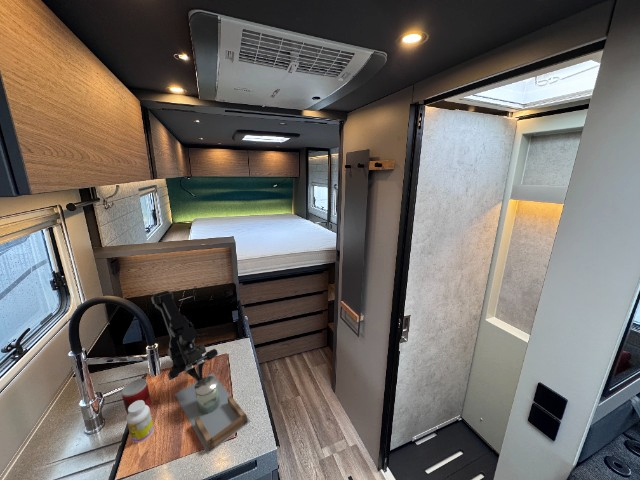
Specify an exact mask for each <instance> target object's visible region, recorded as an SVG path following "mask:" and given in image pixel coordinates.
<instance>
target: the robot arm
mask: <svg viewBox="0 0 640 480" xmlns="http://www.w3.org/2000/svg"><path fill="white" fill-rule="evenodd" d="M174 298H175V297H174V295H173V291H170V290H164V291H163V290H162V291H160V292H157V293H153V296H151V298H150V299H151V303H152V305H154V307H155V308H156V309H158V310H159V311H160V312H161V315H162V318H163V321H164V324H165V326H166V329H167V332H168V335H169V337H170V340H169V344H168V347H169V348H168V350H167V355H168V357H169V358H170V360H171V361H172V366H171V369H170V370H169V372H168V373H167V376H168V377H167V378H168V380H169V381H172V380H174V379H176V378H177V377H179V375H180V374H181V373H182V372H185V373H184V374H185V375H189V376H191V377H192V378H193V379H194V380H195V382H198V381H199V380H201V379H202V378H203V368H204V365H205V364H206V361H210V360H213V359H215V358H216V357H217V356H218V355H219V353H218V350H217V349H216V348H213V349H211V350H209V351H207V349H206V347H205V345H204V344H201V345H200V346H198V347H197V346H196V344H195V339H196V338H197V335H198V332H197V330H196V328H195V325H194V324H193V323H192V322H191V321H190V320H189V319H187V317H186V316H185V315H183V314H181V313H180V311H179V309H178V306H177V305H176V303H175V301H174ZM195 366H196V367H195Z"/></svg>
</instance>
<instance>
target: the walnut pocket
mask: <svg viewBox="0 0 640 480" xmlns="http://www.w3.org/2000/svg"><path fill="white" fill-rule="evenodd" d="M227 399H228V404H229V406H230V407H231V408H232V410H233V411H234V412H235V414H236V415H237V416H238V419H237V420H235V421H234V422H232V423H231V424H230V425H228V426H227V427H226V428H224V429H223V430H222V431H220V432H219V433H217V434H216V435H215V436H213V437H212V438H211V436H210V434H209V433H208V431H207V429H206V428H205V426H204V424H203V423H202V421H201V419H200V418H199V417H197V418H196V419H195V425H196V427H197V429H198V431H199V433H200V434H201V436H202V438H203V440H204V441H205V443H206V445H207V447H208V449H209V450H210V451H211V450H212V449H213V448H215V447H216V446H217V445H219V444H220V443H221V442H223V441H224V440H225V439H227V438H228V437H229V436H230V435H232V434H233V433H234V432H236V431H237V430H238V429H240V428H241V427H242V426H244V425H245V424H246V423H247V422H248V420H247V417H248V415H247V414H246V412H245V411H243V409H242V408H241V407H240V405H239V404H238V403H237V402H236V400H235V399H234V397H233V396H232V395H230V397H228V398H227ZM244 427H245V426H244ZM240 430H241V429H240ZM236 433H237V432H236ZM227 440H228V439H227ZM223 443H224V442H223Z"/></svg>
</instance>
